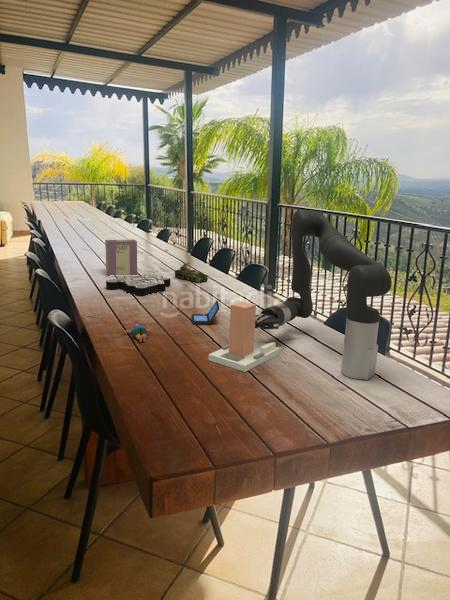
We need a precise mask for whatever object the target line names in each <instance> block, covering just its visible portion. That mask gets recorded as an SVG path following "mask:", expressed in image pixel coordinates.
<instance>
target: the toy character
mask: <svg viewBox="0 0 450 600" xmlns="http://www.w3.org/2000/svg"><path fill="white" fill-rule="evenodd" d="M151 331H152V332H156V329H155V328H146V327H145V326H143V325H141V324H140V323H139V322H138V321H136V322H135V323H134V324H133V329H127V330H122V331H121V334H124V333H129V334H132V335H133V338H135V339H136V340H139V342H140V343H142V342H144V343H145V342H146V341H147V337H148V334H149V333H148V332H151Z"/></svg>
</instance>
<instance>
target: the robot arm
mask: <svg viewBox="0 0 450 600" xmlns="http://www.w3.org/2000/svg"><path fill="white" fill-rule="evenodd" d="M290 227H291V231H290V233H291V250H292V274H291V284H290V289H291V291H292V292H295V293H296V294H298V296H299V297H296V296H289V297H288V298H286V299H285V301H284V302H283V303H282V302H281V303H280V304H279V303H278V304H275V305H271V306H269V307H266V308H264V309H262V311H261V312H260V313H259V314H256V317H255V330H256V329H257V330H258V329H259V330H260V329H261V330H277V329H279V327H281V326H284V325H286V324H287V323H289V322H292V321H294V319H295V318H296V317H297V318H302V319H308V318H309V317H310V316H312V314H313V311H314V310H313V309H314V306H313V305H314V304H313V299H312V292H311V284H312V283H311V282H312V281H311V280H312V267H311V263H310V261H309V259H308V257H307V255H306V253H305V252H306V251H305V250H304V249H305V248H304V242H303V240H304V237H312V238H313V237H315V238H316V239H317V238H318V239H319V240H320V241H319V251H320V254H321V255H322V256H323V257H324V258H325V259H326V260H327V262H329V263H330V264H331V265H332V266H334V267H337V268H339V269H341V270H343V271H346V272H348V275H347V281H346V282H347V284H346V299H345V300H346V302H345V307H346V308H345V309H346V321H345V331H344V339H343V349H342V356H341V357H342V358H341V367H340V368H341V369H340V373H341V374H342V375H343V376H346V377H348V378H351V379H356V380H365V381H369V380H370V379H371V378H372V377H374V376H375V375H376V366H377V359H378V351H379V344H377V341H378V333H379V332H378V331H379V325H380V317H381V316H380V315H381V313H380V311H379V310H378V309H377V308H374V307H371V306H369V305H368V303H367V302H368V301H367V298H373V297H374V298H375V297H382V296H384V295H386V294H387V293H389V292H390V290H391V288H392V283H393V282H392V277H391V274H390V272H389V271H388V269H387V268H386V267H385V266H383V265H382V264H380V262H377V261H376V260H374V259H373V258H371V257H370V256H368V255H367V254H365V253H364V252H363V251H362V250H361V249H359V247H358V246H356V245H355V244H353V242H351V241H350V240H349V239H348V238H347V237H346V236H345V235H343V234H342V233H341V232H340V231H339V230H338V229H337V228H335V226H333V225H332V224H331V222H330V221H329V220H328V219H327V217H326V216H325V215H324V214H323V213H322V212H320V211H318V210H305V209H301V210H300V209H299V210H297V211H295V212H294V213H293V215H292V218H291V225H290Z"/></svg>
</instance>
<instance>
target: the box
mask: <svg viewBox="0 0 450 600" xmlns="http://www.w3.org/2000/svg"><path fill="white" fill-rule="evenodd" d="M104 244H105V274H106V273H107V274H106V276H107V275H108V276H110V275H137V276H138V241H137V240H136V239H105V242H104ZM108 276H107V277H108Z"/></svg>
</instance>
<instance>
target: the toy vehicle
mask: <svg viewBox="0 0 450 600" xmlns="http://www.w3.org/2000/svg"><path fill="white" fill-rule="evenodd" d="M188 264H190V262H187V263H184V264H182V266H180V268H179V269H175V270H174V277H175V278H176V279H177V278H178V279H177V280H182V279H183V280H182V281H187V282H189V281H190V282H191V283H201V282H207V281H208V280H209V278H208V277H209V275H208V274H205V273H203V272H202V271H197V270H195V269H191V268H188V267H187V265H188Z"/></svg>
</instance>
